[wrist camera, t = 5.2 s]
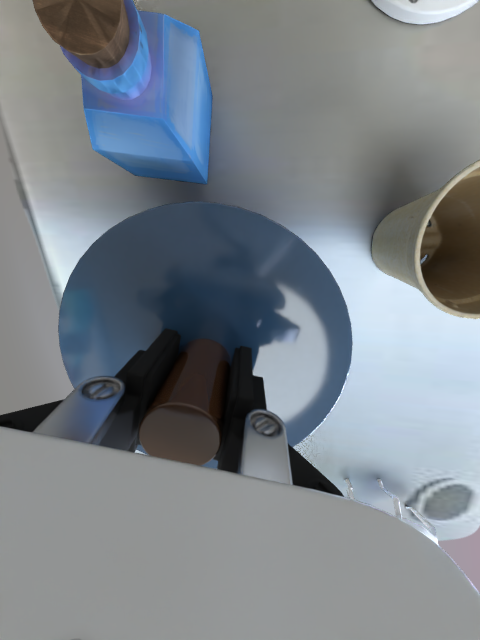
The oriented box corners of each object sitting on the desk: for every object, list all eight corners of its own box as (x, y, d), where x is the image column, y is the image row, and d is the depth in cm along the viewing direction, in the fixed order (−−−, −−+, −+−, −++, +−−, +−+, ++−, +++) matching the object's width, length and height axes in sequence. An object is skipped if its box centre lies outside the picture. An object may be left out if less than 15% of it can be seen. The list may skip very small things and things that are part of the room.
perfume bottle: (135, 175, 21) (3, 94, 9) (133, 86, 19) (-36, -154, 7) (207, 184, 21) (163, 115, 9) (212, 96, 19) (166, -125, 8)
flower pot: (381, 168, 20) (475, 118, 12) (479, 203, 21) (630, 179, 13) (335, 275, 23) (386, 294, 15) (423, 303, 24) (518, 336, 16)
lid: (76, 166, 10) (-130, 82, 5) (390, 249, 11) (540, 263, 5) (72, 426, 15) (-33, 541, 9) (294, 471, 16) (321, 602, 10)
